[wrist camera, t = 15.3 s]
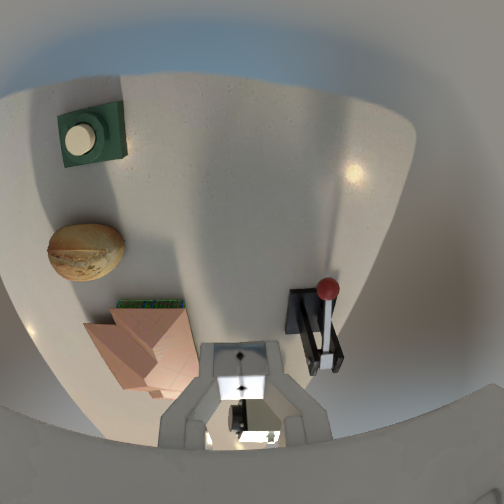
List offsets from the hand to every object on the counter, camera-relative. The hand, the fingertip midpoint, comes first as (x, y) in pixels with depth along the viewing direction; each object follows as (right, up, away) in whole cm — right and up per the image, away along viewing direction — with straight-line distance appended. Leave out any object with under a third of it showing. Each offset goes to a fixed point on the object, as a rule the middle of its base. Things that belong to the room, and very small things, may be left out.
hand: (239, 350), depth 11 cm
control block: (-22, +21, +22) cm, 37 cm away
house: (-22, -18, +47) cm, 55 cm away
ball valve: (+3, -29, +56) cm, 64 cm away
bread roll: (-27, +6, +31) cm, 42 cm away
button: (-22, +19, +19) cm, 34 cm away
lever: (+12, -7, +34) cm, 37 cm away
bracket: (+12, -7, +43) cm, 45 cm away
